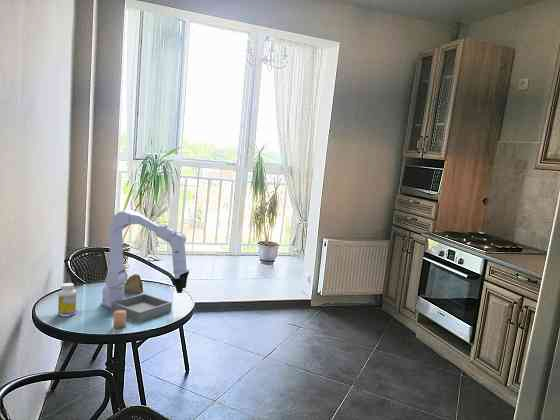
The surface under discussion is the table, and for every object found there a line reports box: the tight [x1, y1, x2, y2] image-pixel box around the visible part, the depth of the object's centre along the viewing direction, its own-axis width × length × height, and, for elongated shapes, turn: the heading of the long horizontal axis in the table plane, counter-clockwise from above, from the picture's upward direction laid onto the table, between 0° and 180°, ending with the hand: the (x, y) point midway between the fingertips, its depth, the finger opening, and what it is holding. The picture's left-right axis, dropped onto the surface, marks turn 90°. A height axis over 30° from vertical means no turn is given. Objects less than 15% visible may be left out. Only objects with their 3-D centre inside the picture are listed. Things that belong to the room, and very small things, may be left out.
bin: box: [110, 293, 173, 323], centre depth 184 cm, size 18×18×4 cm
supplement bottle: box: [57, 282, 77, 316], centre depth 174 cm, size 7×7×13 cm
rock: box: [124, 274, 144, 295], centre depth 208 cm, size 11×9×10 cm
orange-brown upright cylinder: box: [112, 310, 127, 330], centre depth 166 cm, size 5×5×6 cm
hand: (181, 290), depth 185 cm, fingers open, 7 cm apart
